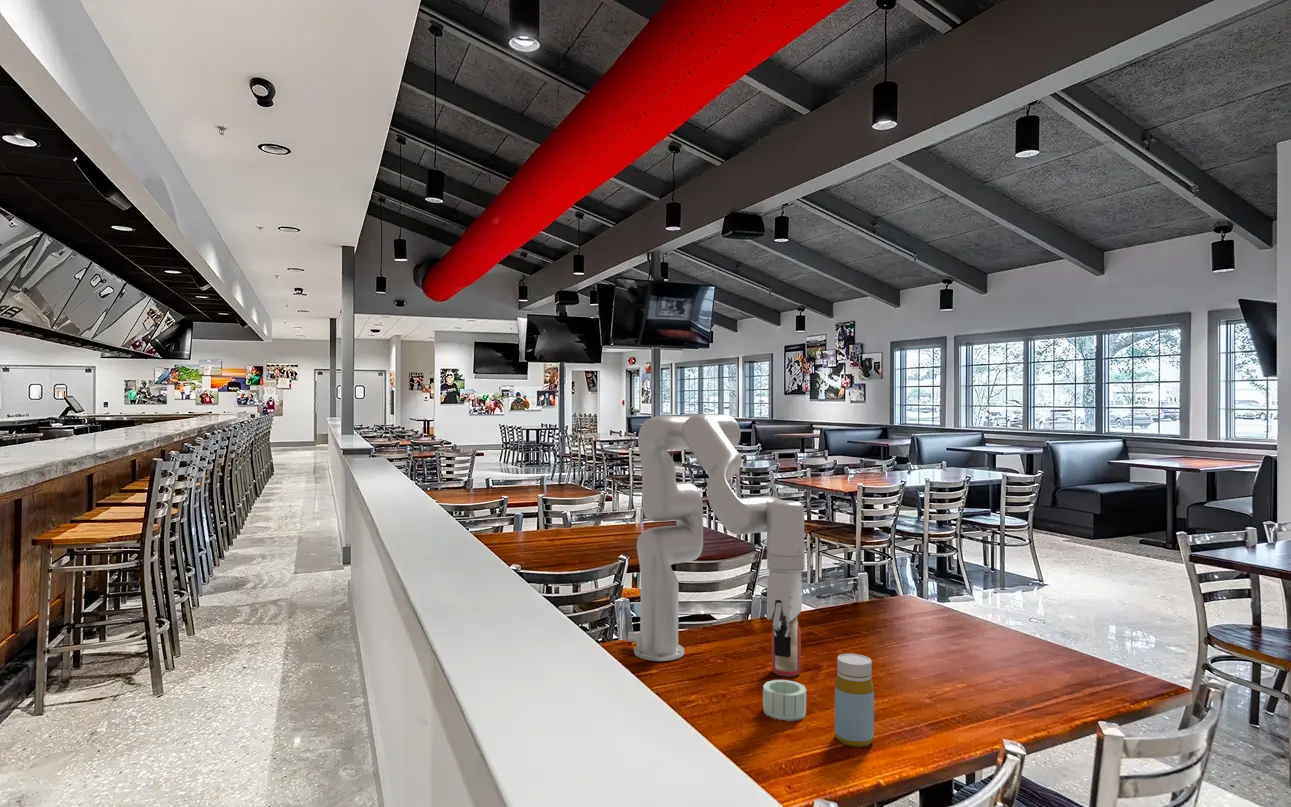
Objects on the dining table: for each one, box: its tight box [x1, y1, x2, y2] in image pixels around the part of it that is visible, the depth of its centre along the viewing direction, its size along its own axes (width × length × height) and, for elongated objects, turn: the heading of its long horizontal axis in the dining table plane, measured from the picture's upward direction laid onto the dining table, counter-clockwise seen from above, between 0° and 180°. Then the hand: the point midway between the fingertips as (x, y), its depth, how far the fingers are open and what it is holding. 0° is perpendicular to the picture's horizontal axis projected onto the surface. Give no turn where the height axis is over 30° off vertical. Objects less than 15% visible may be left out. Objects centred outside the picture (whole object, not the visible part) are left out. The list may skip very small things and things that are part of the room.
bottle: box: [834, 653, 875, 748], centre depth 136 cm, size 7×7×15 cm
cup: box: [762, 679, 807, 722], centre depth 148 cm, size 8×8×5 cm
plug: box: [775, 617, 798, 672], centre depth 148 cm, size 4×4×10 cm
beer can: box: [771, 620, 802, 678], centre depth 170 cm, size 7×7×12 cm
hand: (786, 651), depth 148 cm, fingers closed on plug, 4 cm apart
